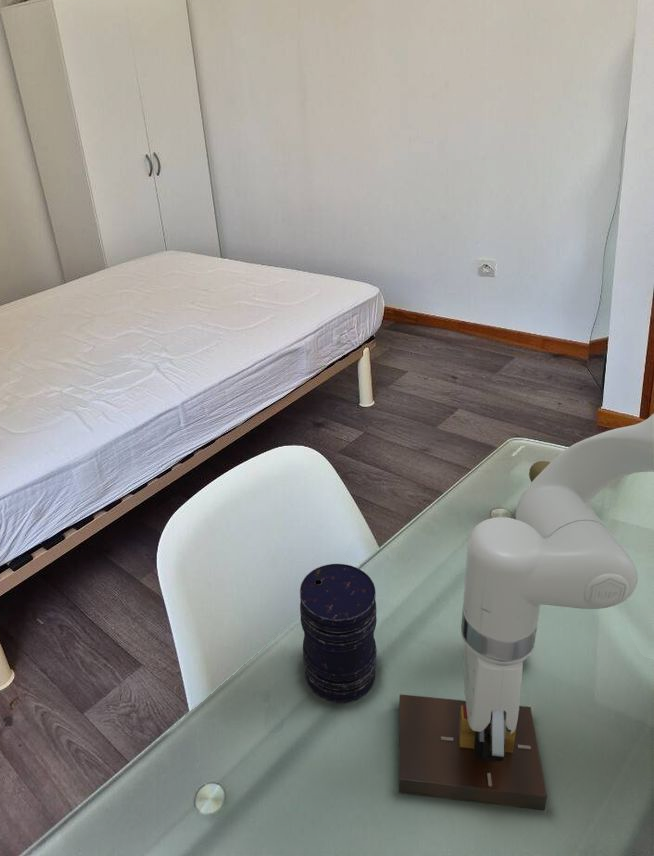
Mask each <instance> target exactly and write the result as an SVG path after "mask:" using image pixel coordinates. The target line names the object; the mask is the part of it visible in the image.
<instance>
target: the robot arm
mask: <svg viewBox="0 0 654 856" xmlns="http://www.w3.org/2000/svg"><path fill="white" fill-rule="evenodd" d="M549 462H550V463H549V465H548V466H547V467H546V468H545V469H544V470H543V471H542V472H541V473H540V474H539V475H538V476H537V477H536V478H535V479H534V480H533V481H532V482H531V481H530V483H529V485H528V486H527V487H526V488H525V490H524V491H523V492H522V494H521V496H520V498H519V500H518V502H517V504H516V509H515V518H512V517H504V516H501V517H498V516H497V517H490V518H487V519H484V520H482V521H481V522H479V523H478V524H476V526H474V527H473V529H472V530H471V532H470V534H469V536H468V540H467V548H466V550H467V551H466V559H465V560H466V561H465V575H464V589H463V602H462V611H461V612H462V613H461V624H460V625H461V626H460V635H461V638H462V641H463V643H464V646H463V647H464V648H463V654H462V675H463V685H464V686H463V687H464V697H465V701H466V709H467V718H468V724H469V726H470V728H471V729H472V730H473V731H477V732H476V734H475V744H474V757H475V758H476V759H483V760H485V761H489V762H495V761H503V757H504V749H505V742H506V728H507V732H509V734H510V735H511V734H512V733H513V732H514V731H515V729H516V725H517V720H518V713H519V706H521V693H522V682H523V667H524V665H523V664H524V661H525V660H527V659H529V657H530V656H531V654H532V653H533V651H534V650H535V643H536V637H537V632H538V631H537V630H538V621H539V615H540V608H541V605H543V606H552V607H553V606H555V607H564V608H572V609H581V610H587V609H588V610H598V609H599V610H600V609H609V608H612V607H615V606H618V605H620V604H622V603H624V602H626V601H627V600H628V599H629V598H630V597H631V596H632V595H633V594H634V592H635V590H636V588H637V585H638V581H639V578H638V577H639V576H638V571H637V567H636V565H635V563H634V561H633V560H632V558H631V557H630V555H629V553H628V552H627V550H625V548H624V547H623V546H622V545H621V543H619V541H618V540H617V539H616V537H615V536H614V535H613V534H612V533H611V532H610V530H609V529H608V528H607V526H606V525H605V524H604V523H603V521H602V520H601V519H600V518H599V517H598V515H597V514H596V513H595V511H593V509H592V508H591V507H590V506H589V505H588V504H589V503H590V502H591V501H592V500H593V499H594V498H595V497H596V496H597V495H598V494H599V493H600V492H601V491H602V490H603V489H605V488H606V487H607V486H609V484H611V483H613V482H615V481H616V480H618V479H620V478H623V477H625V476H629V475H633V474H638V473H654V413H652V414H651V415H650V416H649V417H648V418H646V419H644V420H643V421H641V422H639V423H638V422H637V423H636V424H632V425H627V426H622V427H617V428H614V429H609V430H605V431H604V432H600V433H598V434H595V435H592V436H589V437H587V438H585V439H582V440H580V441H578V442H576V443H573V444H572V445H570V446H568V447H567V448H565V449H564V450H562V451H561V452H560V453H559V454H558V455H556V456H555V457H554V458H553V459H552V460H551V461H549ZM487 726H491V730H487V729H485V728H486V727H487Z"/></svg>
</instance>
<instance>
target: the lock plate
mask: <svg viewBox="0 0 654 856" xmlns="http://www.w3.org/2000/svg"><path fill="white" fill-rule="evenodd" d="M398 698H399V699H398V702H399V703H398V793H400V794H407V795H408V794H409V795H414V796H415V795H417V796H422V797H423V796H425V797H433V798H441V799H449V800H456V801H457V800H458V801H465V802H466V801H467V802H473V803H475V802H476V803H482V804H488V805H489V804H490V805H498V806H499V805H500V806H506V807H516V808H524V809H531V810H532V809H533V810H539V811H540V810H541V811H545V810H546V805H547V800H548V793H547V788H546V783H545V777H544V771H543V767H542V762H541V755H540V750H539V744H538V740H537V739H538V738H537V734H536V729H535V723H534V718H533V714H532V707H531V706H523V705H519V713H518V720H517V726H516V733H515V740H514V747H513V753H509V752H504V757H503V761H495V762H489V761H485V760H483V759H476V758H475V757H474V749H472V748H463V747H460V744H459V723H460V712H461V706H463V705H465V706H466V700H463V699H453V698H452V699H451V698H442V697H441V698H440V697H433V696H432V697H430V696H421V695H410V694H401V693H400V694H399V697H398Z"/></svg>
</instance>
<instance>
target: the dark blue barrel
mask: <svg viewBox="0 0 654 856" xmlns="http://www.w3.org/2000/svg"><path fill="white" fill-rule="evenodd" d="M376 594H377V593H376V586H375V584H374V582H373V579H372V578H371V577H370V576H369V575H368V574H367V573H366V572H365V571H363V570H362V569H360V568H359V567H357V566H353V565H350V564H345V563H329V564H324V565H321V566H319V567H316V568H314V569H313V570H311V571H310V572H308V573H307V574H306V576H305V577H304V578H303V579H302V581H301V583H300V587H299V598H300V603H299V611H300V613H299V615H300V623H301V627H302V631H303V636H304V637H303V640H302V661H303V667H304V677H305V681H306V683H307V686H308V687H309V689H310V690H311V691H312V692H313V693H314V694H315V695H316V696H317V697H318V698H321V699H322V700H324V701H327V702H330V703H333V704H334V703H335V704H347V703H353V702H356V701H358V700H361V699H362V698H364V697H365V696H366V695H367V694H368V693H369V692H370V691H371V690H372V688H373V686H374V684H375V681H376V667H377V644H376V639H375V630H376V627H377V621H378V619H377V603H376V597H377V596H376Z"/></svg>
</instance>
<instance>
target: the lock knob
mask: <svg viewBox="0 0 654 856" xmlns="http://www.w3.org/2000/svg"><path fill="white" fill-rule="evenodd" d="M516 726H517V725H516ZM485 729H487V730H491V726H487V727H486V728H485ZM476 732H477V731H473V730H472V729H471V728H470V726H469V724H468V718H467V709H466V706H465V705H463V706H461V712H460V723H459V744H460V747H463V748H472V749H474V744H475V734H476ZM515 733H516V729H515V731H514V732H513V733H512V734H511V735H510V734H509V732H507V728H506V742H505V749H504V752H509V753H513V747H514V740H515Z"/></svg>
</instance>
